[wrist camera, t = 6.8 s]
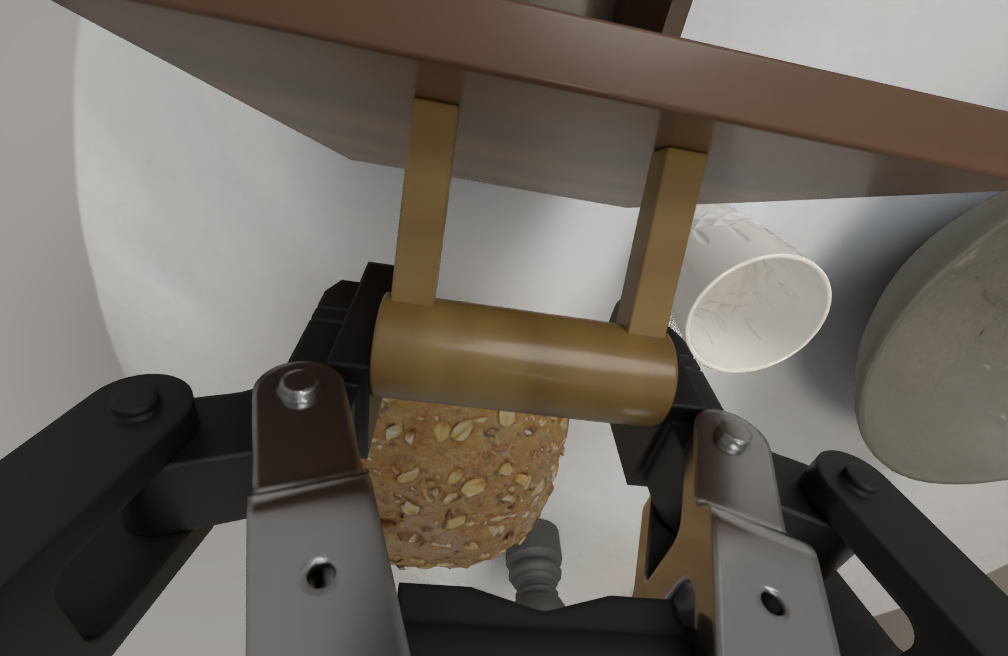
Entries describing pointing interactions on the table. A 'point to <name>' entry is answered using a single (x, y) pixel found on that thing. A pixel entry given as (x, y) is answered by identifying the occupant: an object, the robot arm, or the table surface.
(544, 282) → the table surface
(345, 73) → the lid
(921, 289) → the bowl
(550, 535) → the candle holder
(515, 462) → the bread
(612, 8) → the compartment
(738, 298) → the white cup
